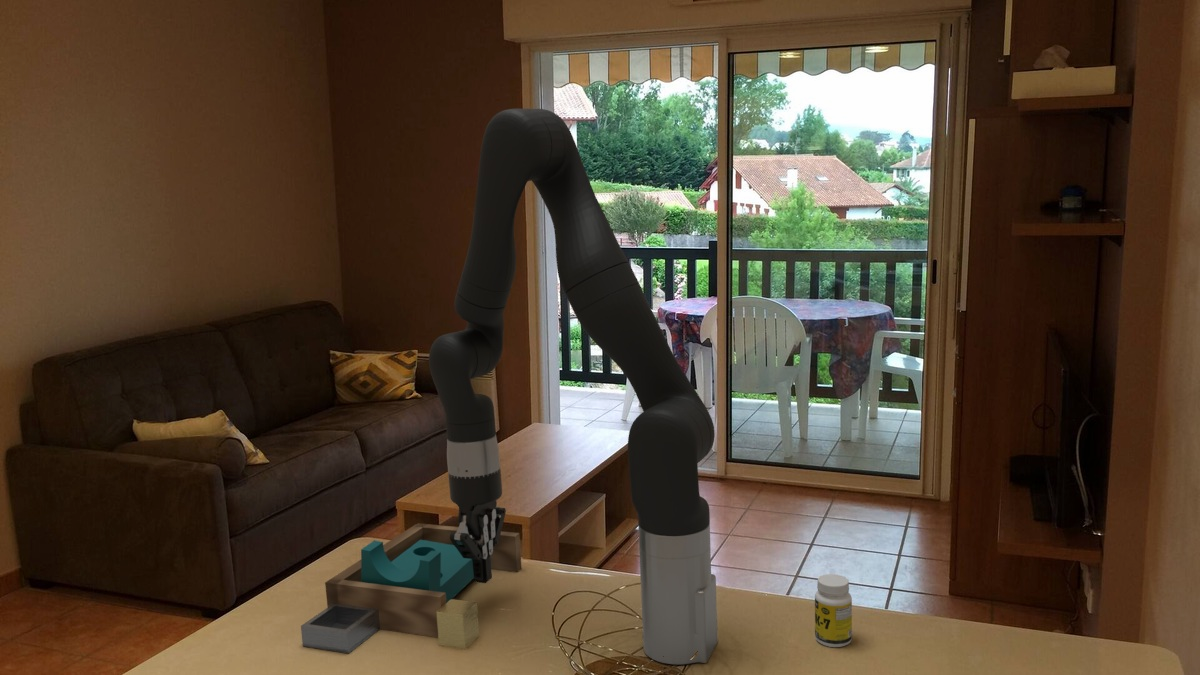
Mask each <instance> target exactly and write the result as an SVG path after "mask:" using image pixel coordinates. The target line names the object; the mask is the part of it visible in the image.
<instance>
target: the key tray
mask: <svg viewBox="0 0 1200 675" xmlns="http://www.w3.org/2000/svg"><path fill="white" fill-rule="evenodd" d="M300 630H301V632H300V633H301V642H302V647H304V648H310V649H317V650H322V651H329V652H330V651H331V652H336V653H343V654H350V653H351V652H353V651H354V650H355V649H356V648H358V647H359V646H360V645H362V643H364V642H366V641H367V640H368V639H370V637H372V636H373V635H374V634H376V633H377V632H378V631H380V630H381V629H380V622H379V610H378V609H374V608H367V607H359V606H352V605H345V604H337V603H334V604H332V605H331V606H329V607H326V608H325V609H323V610H322V611H320V612H319V613H318V614H316V615H314V616H313V617H311V618H310V619H309V620H307V621H305V622H304V623H303V624H301V625H300Z"/></svg>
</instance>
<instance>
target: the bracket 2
mask: <svg viewBox="0 0 1200 675" xmlns="http://www.w3.org/2000/svg"><path fill="white" fill-rule="evenodd" d="M458 527H459V526H450V525H439V524H430V523H420V522H417V523H415V524H414V525H413V526H411V527H409V528H407V529H406V530H405V531H403V532H402V533H400V534H399V535H397V536H395V537H394V538H392V539H391V540H389V541H387V542H385V543H383V548H384V551H385V554H386V556H387V558H388V559H389V561H390V562H392V561H393V560H394V559H396V558H397V557H398V556H400V555H401V554H402V553H403V552H405V551H406V550H407V549H409V548H410V547H411V546H413V545H414V544H415V543H416V542H418V541H419V540H426V541H431V542H437V543H443V544H449V545H454V544H453V543H452V542H451V540H450V534H451V532H457V530H458ZM520 536H521V535H520V532H511V531H510V532H509V531H502V530H501V534H500V538H499V542H498V546H497V547H495V546H494V547H493V553H492V555H490V557H491V570H496V571H502V572H504V571H505V572H513V573H518V572H519V571H520V570H522V557H521V556H522V555H521V554H522V553H521V541H520V540H521V539H520V538H521V537H520ZM324 584H325V593H326V604H327V607H326V608H328V607H329V606H331V605H332V604H334V603H337V604H345V605H352V606H359V607H367V608H374V609H378V610H379V622H380V630H384V631H392V632H399V633H405V634H412V635H420V636H426V637H433V638H438V625H437V612H436V611H437V610H439V609H440V608H441V607H442V606H443V605H445V604H446V593H444V592H436V591H428V590H420V589H412V588H404V587H396V586H388V585H380V584H372V583H364V582H361V559H360V560H358V561H357V562H355V563H353V564H352V565H350V566H348V567H347V568H345V569H344V570H341V572H339V573H338V574H336V575H335V576H333V577H332V578H330V579H328V580H327V581H325V582H324Z"/></svg>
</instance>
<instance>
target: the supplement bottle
mask: <svg viewBox="0 0 1200 675" xmlns="http://www.w3.org/2000/svg"><path fill="white" fill-rule="evenodd" d="M816 584H817V585H816V588H817V591H815V594H814V637H815V640H816V642H818V643H819V644H821V645H822V646H826V647H830V648H843V647H846V646H847V645H850V643H851V642H852V639H853V627H852V626H853V609H852V608H853V604H852V603H853V600H852V599H853V598H852V595H851V593H850V585H849V584H850V581H849V578H847V577H846V576H843V575H840V574H835V573H834V574H833V573H827V574H826V573H825V574H823V575H820V576H819V577H818V578H817V583H816Z"/></svg>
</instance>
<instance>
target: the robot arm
mask: <svg viewBox="0 0 1200 675" xmlns="http://www.w3.org/2000/svg"><path fill="white" fill-rule="evenodd" d="M585 168H586V167H585V166H584V162H583V160H582V158H581V155H580V152H579V149H578V147H577V144H576V142H575V138H574V137H573V134H572V133H571V129H569V127H568V125H567V124H566V122H565V121H564V120H563V118H562V117H560V116H559V115H558V114H556V113H555V112H554V111H551V110H548V109H543V108H509V109H504V110H501V111H499V112H498V113H496V114H495V115H494V116H493V117H492V118H491V119H490V121H489V122H488V124H487V125H486V128H485V131H484V134H483V137H482V143H481V148H480V156H479V164H478V174H477V175H478V176H477V185H476V192H475V193H476V194H475V202H474V210H473V219H472V226H471V232H470V241H469V245H468V249H467V253H466V258H465V261H464V265H463V268H462V272H461V276H460V279H459V283H458V286H457V291H456V294H455V298H454V305H453V306H454V311H455V313H456V314H457V316H458V317H460V318H461V319H462V320H463V321H466V322H467V325H466V327H465V329H464V330H458V331H454V332H449V333H445V334H442V335H440V336H438V337H437V338H435V340H434V341H433V343H432V345H431V347H430V349H429V354H428V366H429V367H428V368H429V372H430V375H431V378H432V380H433V383H434V387H435V388H436V391H437V394H438V398H439V400H440V402H441V405H442V408H443V410H444V419H445V428H446V430H445V431H446V442H447V443H446V447H447V448H446V462H447V473H448V486H449V496H450V500H451V502H453V503H454V504H455V505H456V506H457V507H458V514H457V521H458V524H459V526H457V527H458V530H457V532H451V534H450V540H451V542H452V543H453V544H454V546H455V547H456V548H457V550H458V551H459V553H460V554H461V555H462V557H463V558H467V559H472V561H473V573H474V578H473V580H474V581H475V583H481V584H487V583H488V582H489V581H490V580H492V578H493V573H492V572H493V571H492V570H493V569H491V557H490V555H492V553H493V547H494V546H495V547H497V546H498V542H499V538H500V534H501V531H502V530H503V525H504V521H505V517H506V512H507V511H506V510H507V509H506V508H505V507H501V506H499V505H497V503H498V502H497V501H498V500H499V499H500V498H501V497H502V496H503V484H502V473H501V472H502V471H501V470H502V469H501V459H500V449H499V444H498V439H497V430H496V428H497V427H496V418H495V408H494V403H493V400H492V398H490V396H488V395H486V394H482V393H475V391H474V388H473V385H472V382H471V380H472V379H475V378H480V377H484V376H486V375H488V374H490V373H492V372H493V370H495V368H496V367H497V366H498V364H499V362H500V359H501V357H502V354H503V351H504V350H503V349H504V328H505V327H504V326H505V325H504V320H505V319H504V312H505V310H506V307H507V306H506V305H507V303H508V299H509V297H510V294H511V289H512V287H513V283H514V281H515V280H514V279H515V275H516V269H517V251H516V250H517V249H516V243H515V242H516V241H515V240H516V239H515V219H516V218H515V217H516V213H517V209H518V205H519V201H520V199H521V196H522V194H523V191H524V189H525V187H526V185H527V183H528V182H532V183H533V184H534V186H535V187H536V190H537V191H538V193H539V195H540V197H541V198H542V200H543V203H544V204H545V206H546V209H547V211H548V213H549V215H550V218H551V221H552V225H553V229H554V238H555V240H554V241H555V258H556V271H557V274H558V280H559V282H560V286H561V288H562V290H563V293H564V294H565V296H566V299H567V301H568V303H569V305H570V307H571V309H572V311H573V312H574V315H575V317H576V319H577V321H578V322H579V324H580V325H581V326H580V327H582V329H583V330H584V331H585V333H586V334H587V335H588V336H589V338H590V339H591V340H592V341H593V342H594V343H595V345H597V346H598V347H599V348H600V349H601V350H602V351H603V352H604V353H605V354H606V355H607V357H609V358H610V359H611V361H613V362H614V363H615V364H616V365H617V367H618V368H619V369H620V370H621V371H622V372H623V374H624V375H625V377H626V378H627V379H628V382H629V384H630V385H631V387H632V390H634V392H635V395H636V398H637V400H638V402H639V405H640V407H641V408H642V411H643V412H641V413H640V414H639V415H638V416H637V417H636V418H635V419H634V420H633V422H632V424H631V426H630V428H629V432H628V437H627V439H628V440H627V459H628V472H629V474H628V475H629V483H630V486H629V487H630V496H631V502H632V505H633V507H634V510H635V511H636V515H637V520H638V523H637V524H638V525H637V526H638V546H639V547H638V550H639V551H638V552H639V573H640V575H639V576H640V595H641V596H640V597H641V598H640V599H641V600H640V601H641V602H640V603H641V621H642V623H641V624H642V640H643V641H642V643H643V644H642V645H643V652H644V653H645V654H646V656H647V657H649V658H650V659H652V660H654V661H656V662H658V663H662V664H668V665H690V664H694V663H702V664H703V663H704V664H705V663H707V662H708V660H710V657H711V655H712V654H713V651H714V650H715V647H716V646H717V644H718V613H717V612H718V610H717V607H718V606H717V605H718V604H717V576H716V575H715V574H714V573H713V574H712V556H711V555H712V554H711V553H712V552H711V523H710V522H711V521H710V520H711V518H710V517H711V515H710V514H711V513H710V505H709V502H708V501H707V500H706V499H705V498H704V496H703V497H702V496H701V495H700V486H699V485H700V484H699V466H698V465H699V463H700V462H701V461H703V460H704V459H705V457H707V456H708V455H709V453H710V452H711V451H712V448H713V446H714V442H715V434H716V433H715V426H714V423H713V419H712V417H711V415H710V412H709V411H708V408H707V407H706V406H705V403H704V402H703V400H702V399H701V397H700V395H699V394H698V393H697V391H696V389H695V388H694V386H693V385H692V383H691V381H690V379H689V378H688V377H687V375H686V373H685V372H684V370H683V368H682V367H681V365H680V364H679V362H678V361H677V359H676V357H675V355H674V353H673V352H672V349H671V347H670V345H669V344H668V341H667V338H666V337H665V335H664V333H663V332H664V331H662V330H663V329H661V326H660V323H659V322H658V319H656V316H655V315H654V312H653V310H652V308H651V307H650V306H651V305H650V304H649V302H648V300H647V297H646V295H645V293H644V291H643V289H642V286H641V284H640V282H639V280H638V279H637V276H636V274H635V272H634V271H633V269H632V266H631V264H630V263H629V260H628V258H627V256H626V254H625V253H624V251H623V249H622V247H621V245H620V243H619V241H618V240H617V238H616V235H615V232H614V231H613V229H612V227H611V224H610V222H609V221H608V219H607V215H605V213H604V210H603V209H602V206H601V204H600V202H599V201H598V198H597V197H596V196H597V195H596V194H595V191H594V190H593V187H592V185H591V182H590V179H589V176H588V174H587V173H588V172H587V170H586V169H585ZM697 651H698V654H697V656H695V658H693V659H692V660H690V659H691V658H692V656H693V655H694V654H695V653H696V652H697ZM663 656H664V657H663Z"/></svg>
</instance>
